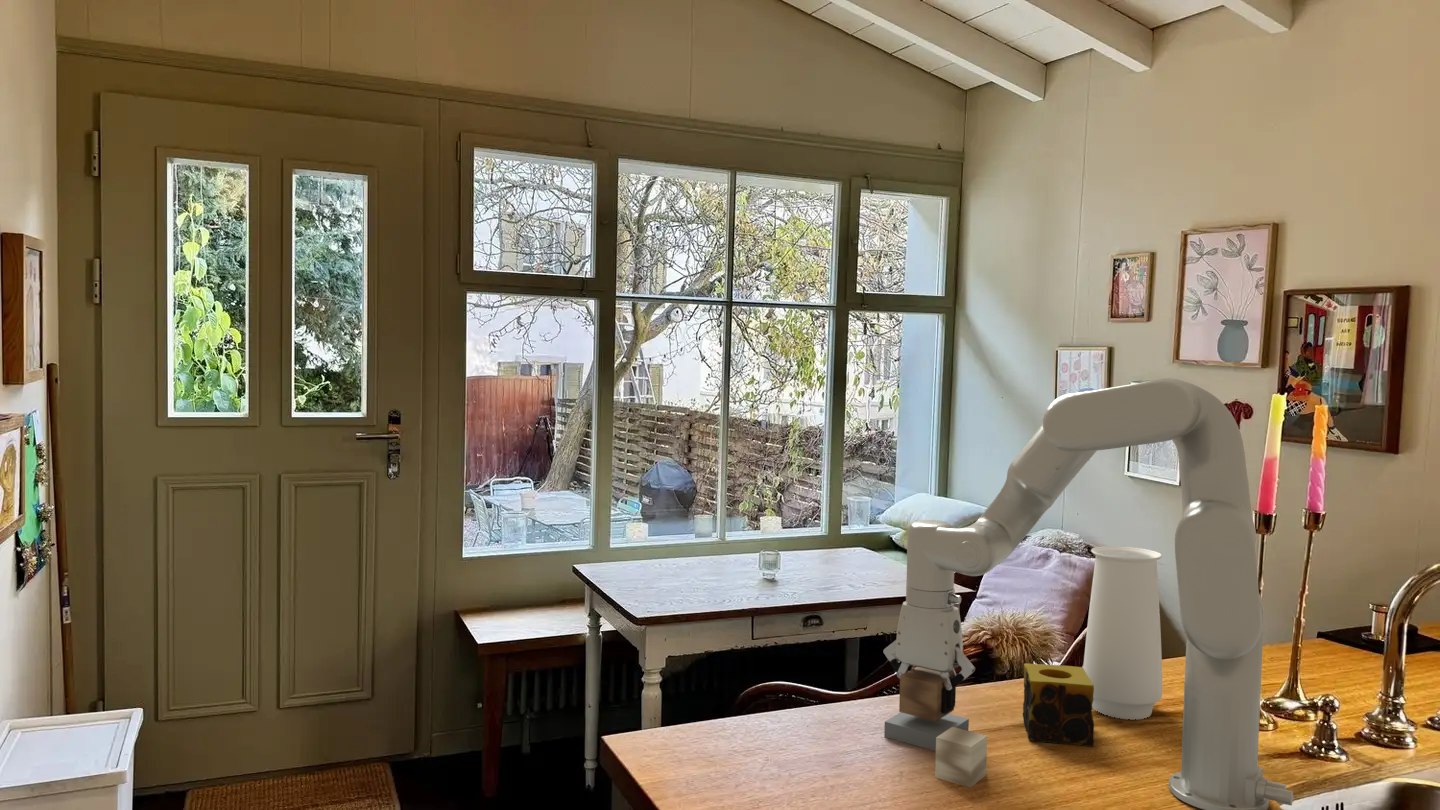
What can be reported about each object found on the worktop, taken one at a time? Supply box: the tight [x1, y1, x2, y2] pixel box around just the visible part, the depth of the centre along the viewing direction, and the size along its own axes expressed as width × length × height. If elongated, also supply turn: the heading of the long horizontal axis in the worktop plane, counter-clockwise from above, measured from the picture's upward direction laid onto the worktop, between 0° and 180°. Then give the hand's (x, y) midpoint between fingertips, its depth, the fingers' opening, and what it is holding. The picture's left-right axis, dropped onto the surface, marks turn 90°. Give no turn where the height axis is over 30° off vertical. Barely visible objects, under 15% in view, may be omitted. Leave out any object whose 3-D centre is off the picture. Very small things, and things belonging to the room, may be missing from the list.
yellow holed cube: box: [1022, 662, 1095, 747], centre depth 161 cm, size 10×10×10 cm
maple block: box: [934, 727, 988, 788], centre depth 144 cm, size 6×6×6 cm
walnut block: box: [898, 666, 955, 721], centre depth 159 cm, size 6×6×6 cm
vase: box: [1082, 545, 1163, 721], centre depth 172 cm, size 13×13×28 cm
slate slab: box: [883, 712, 970, 752], centre depth 159 cm, size 10×10×2 cm
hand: (926, 705), depth 159 cm, fingers closed on walnut block, 6 cm apart
